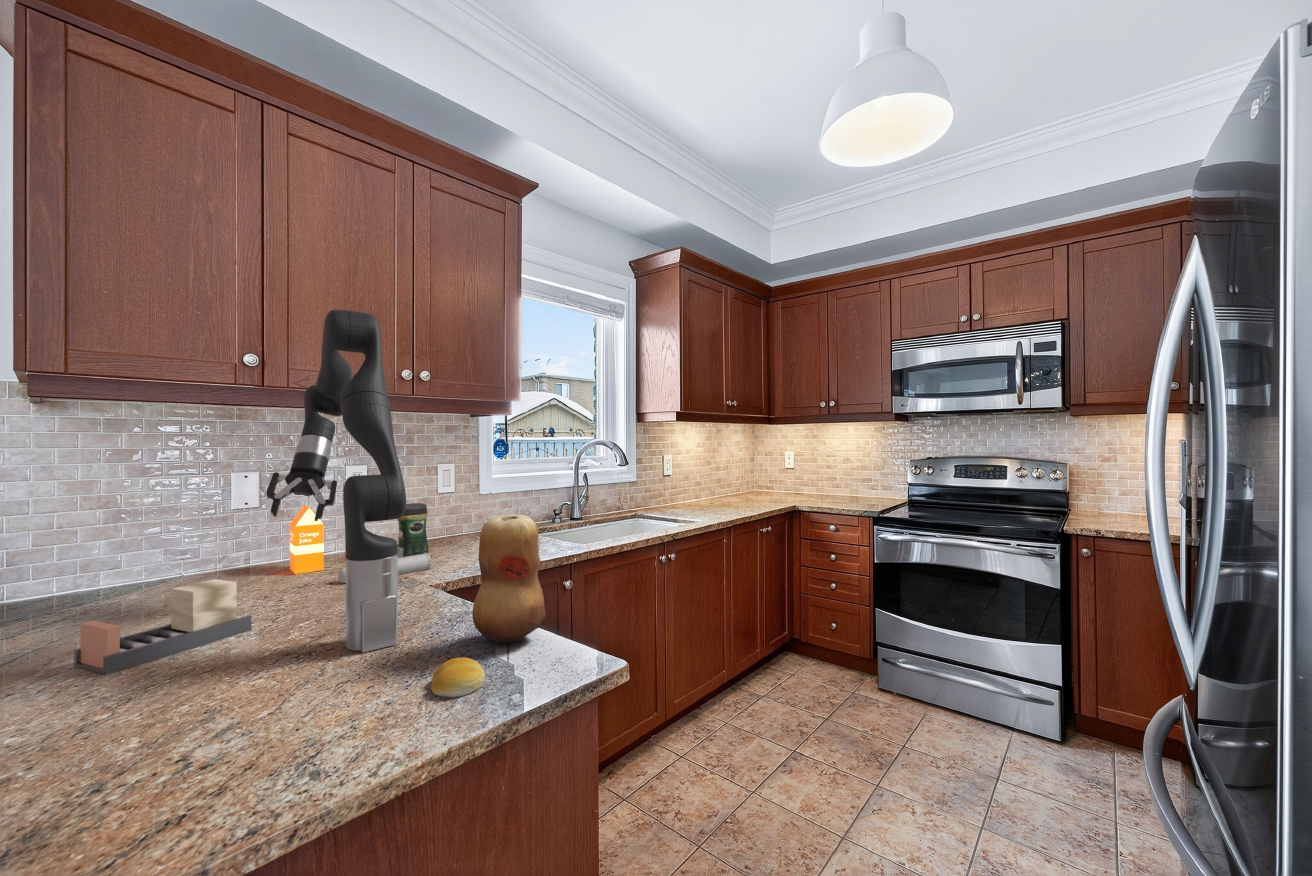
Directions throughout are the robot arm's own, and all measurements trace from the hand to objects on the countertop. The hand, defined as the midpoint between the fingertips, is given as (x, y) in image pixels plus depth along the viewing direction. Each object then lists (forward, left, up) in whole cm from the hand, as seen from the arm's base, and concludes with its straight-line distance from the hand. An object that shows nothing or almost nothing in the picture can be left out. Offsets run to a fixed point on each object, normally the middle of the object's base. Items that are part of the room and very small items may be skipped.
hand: (295, 518), depth 133 cm
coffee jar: (+37, -41, -22) cm, 59 cm away
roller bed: (-12, +23, -22) cm, 34 cm away
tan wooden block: (-9, +18, -19) cm, 28 cm away
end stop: (-16, +33, -21) cm, 42 cm away
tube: (+18, -26, -22) cm, 38 cm away
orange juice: (+42, -11, -22) cm, 49 cm away
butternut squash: (-56, -26, -22) cm, 65 cm away
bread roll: (-68, -10, -22) cm, 72 cm away
